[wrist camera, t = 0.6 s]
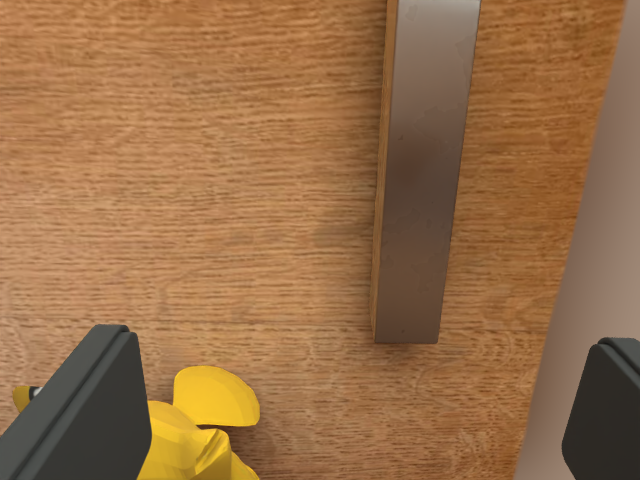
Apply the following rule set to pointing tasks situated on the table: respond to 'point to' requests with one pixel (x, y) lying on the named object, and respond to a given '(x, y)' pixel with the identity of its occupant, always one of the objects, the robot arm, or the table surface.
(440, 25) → the stick
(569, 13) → the table surface
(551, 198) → the table surface
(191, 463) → the fish
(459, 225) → the table surface
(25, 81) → the table surface
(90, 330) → the robot arm
